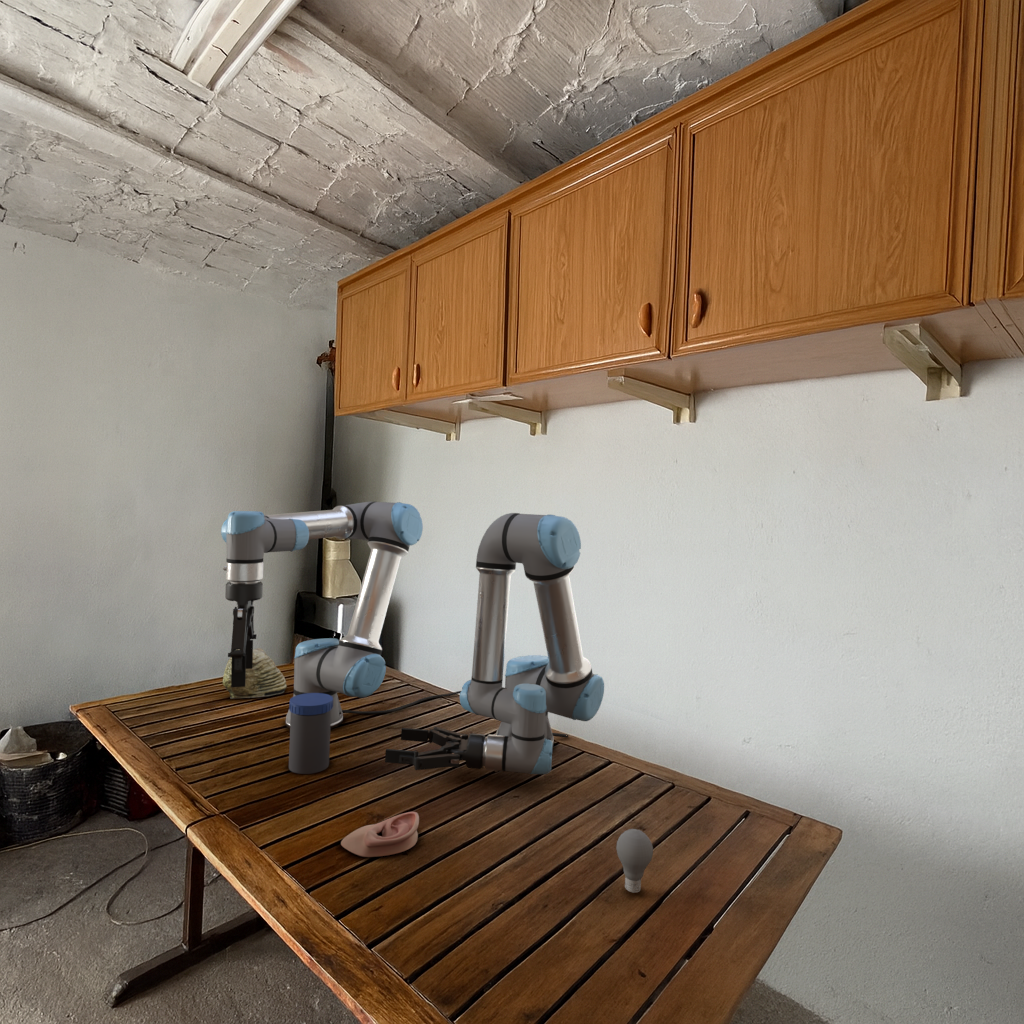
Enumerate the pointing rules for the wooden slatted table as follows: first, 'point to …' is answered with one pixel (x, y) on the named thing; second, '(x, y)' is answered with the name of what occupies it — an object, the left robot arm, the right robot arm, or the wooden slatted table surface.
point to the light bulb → (634, 857)
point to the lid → (311, 704)
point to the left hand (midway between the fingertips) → (242, 677)
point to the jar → (309, 743)
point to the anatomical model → (384, 836)
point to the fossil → (257, 678)
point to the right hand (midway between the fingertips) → (393, 744)
